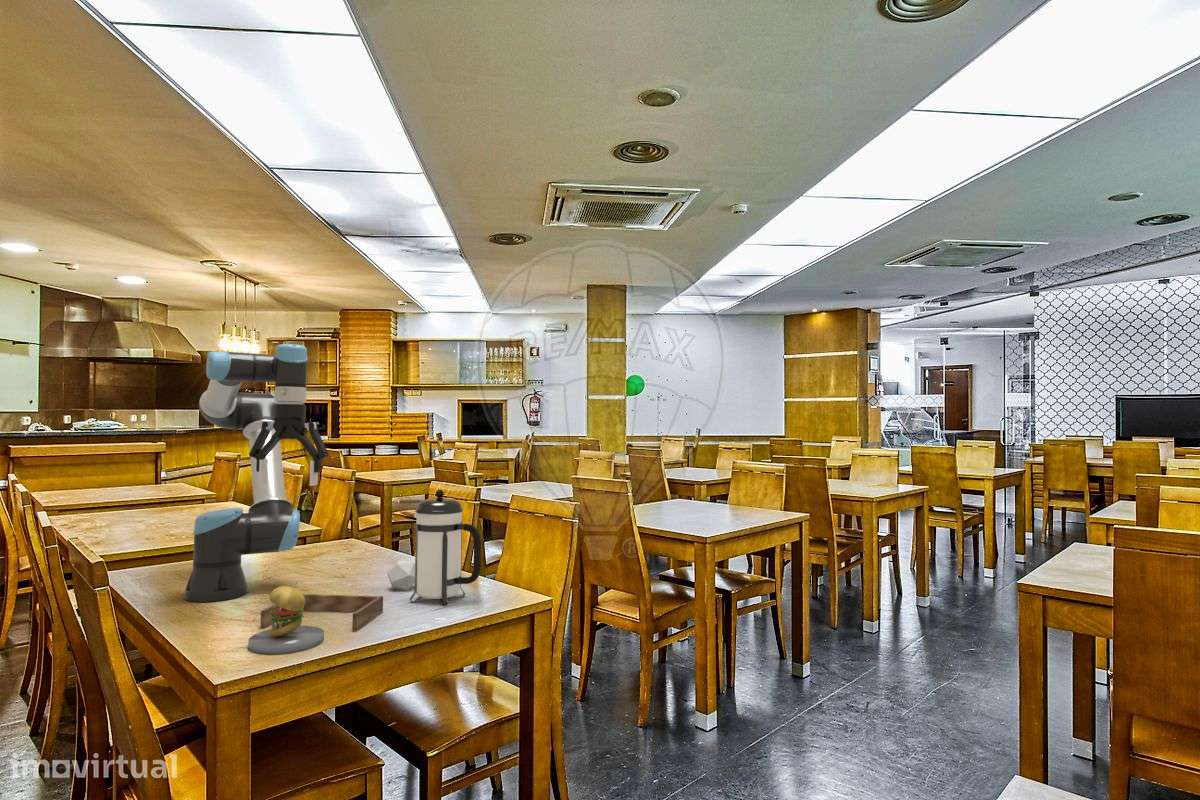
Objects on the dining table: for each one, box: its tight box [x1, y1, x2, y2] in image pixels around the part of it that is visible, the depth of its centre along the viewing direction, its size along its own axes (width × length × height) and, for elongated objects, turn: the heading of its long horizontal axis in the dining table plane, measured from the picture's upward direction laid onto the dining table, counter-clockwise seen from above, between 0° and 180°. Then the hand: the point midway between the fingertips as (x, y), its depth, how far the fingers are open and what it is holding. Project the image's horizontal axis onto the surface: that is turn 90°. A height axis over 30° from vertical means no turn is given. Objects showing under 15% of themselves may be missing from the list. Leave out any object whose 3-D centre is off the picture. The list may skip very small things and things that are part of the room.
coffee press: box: [409, 489, 482, 607], centre depth 187 cm, size 17×16×30 cm
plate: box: [247, 625, 325, 655], centre depth 149 cm, size 15×15×2 cm
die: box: [386, 560, 415, 591], centre depth 198 cm, size 8×9×10 cm
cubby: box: [259, 593, 384, 632], centre depth 166 cm, size 23×16×4 cm
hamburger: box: [268, 579, 305, 637], centre depth 149 cm, size 8×7×12 cm
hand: (288, 485), depth 178 cm, fingers open, 13 cm apart
